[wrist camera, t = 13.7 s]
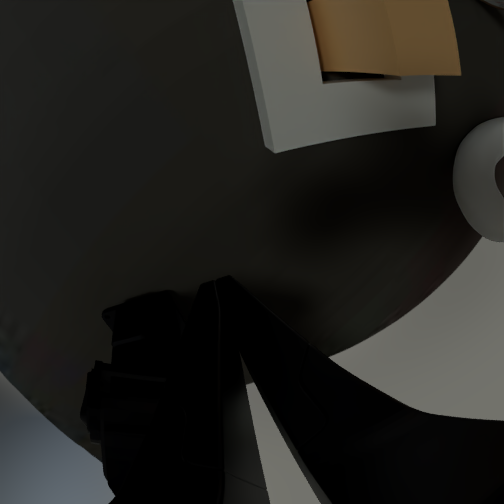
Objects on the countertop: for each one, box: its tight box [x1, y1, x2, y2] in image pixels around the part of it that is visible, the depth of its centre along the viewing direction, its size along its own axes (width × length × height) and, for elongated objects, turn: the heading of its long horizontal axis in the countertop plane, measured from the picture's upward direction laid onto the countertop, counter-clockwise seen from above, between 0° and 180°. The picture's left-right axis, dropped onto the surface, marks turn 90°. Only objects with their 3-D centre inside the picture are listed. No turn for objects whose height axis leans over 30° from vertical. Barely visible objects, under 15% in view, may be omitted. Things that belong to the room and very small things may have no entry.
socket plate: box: [233, 0, 436, 153], centre depth 13 cm, size 14×14×3 cm
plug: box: [307, 0, 461, 76], centre depth 10 cm, size 8×5×8 cm, turn 15°
